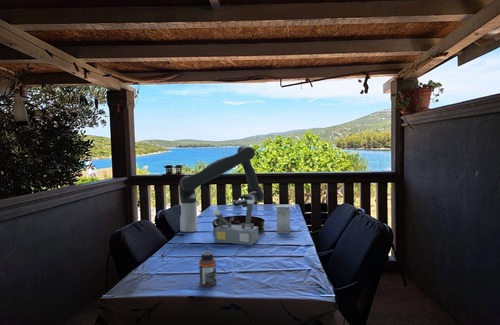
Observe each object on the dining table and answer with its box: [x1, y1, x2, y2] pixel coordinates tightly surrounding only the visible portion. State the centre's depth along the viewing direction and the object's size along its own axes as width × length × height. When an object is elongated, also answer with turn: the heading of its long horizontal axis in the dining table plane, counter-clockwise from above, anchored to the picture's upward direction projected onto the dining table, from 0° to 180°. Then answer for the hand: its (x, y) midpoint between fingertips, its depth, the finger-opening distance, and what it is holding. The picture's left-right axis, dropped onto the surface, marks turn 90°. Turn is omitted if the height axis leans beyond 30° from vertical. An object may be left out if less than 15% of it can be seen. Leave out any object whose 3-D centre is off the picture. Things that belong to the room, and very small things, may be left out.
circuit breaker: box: [276, 204, 291, 234], centre depth 188 cm, size 8×14×15 cm, turn 174°
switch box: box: [214, 221, 259, 246], centre depth 168 cm, size 21×10×10 cm, turn 68°
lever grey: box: [244, 200, 254, 227], centre depth 167 cm, size 3×2×14 cm, turn 68°
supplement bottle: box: [198, 251, 217, 287], centre depth 114 cm, size 6×6×11 cm
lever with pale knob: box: [212, 209, 229, 226], centre depth 165 cm, size 3×2×14 cm
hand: (235, 204), depth 183 cm, fingers closed
